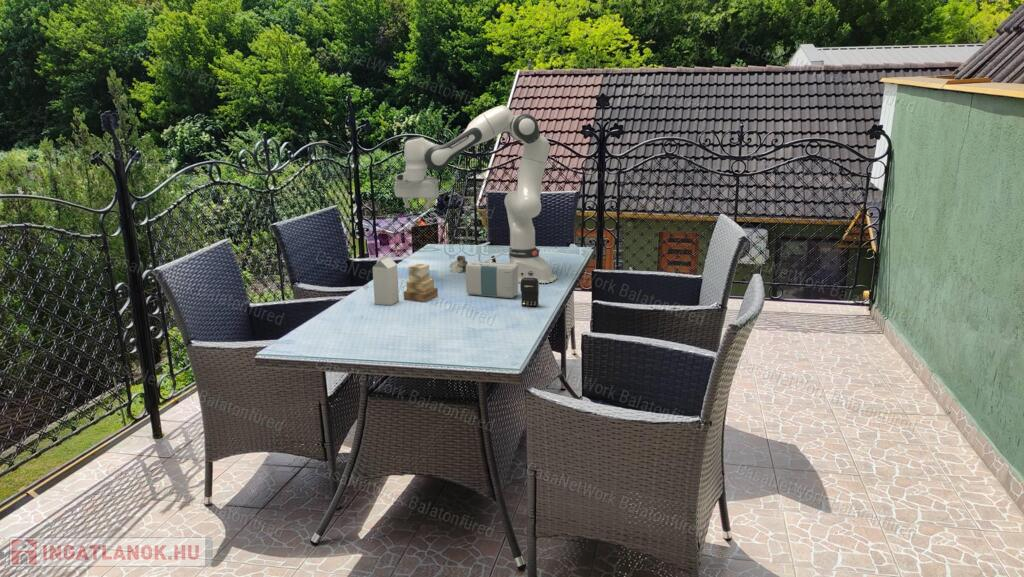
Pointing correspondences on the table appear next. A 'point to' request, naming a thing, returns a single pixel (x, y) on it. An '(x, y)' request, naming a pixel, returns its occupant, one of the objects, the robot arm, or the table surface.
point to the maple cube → (419, 272)
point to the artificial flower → (462, 264)
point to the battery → (530, 291)
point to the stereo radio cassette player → (492, 278)
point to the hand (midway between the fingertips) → (417, 208)
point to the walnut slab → (421, 295)
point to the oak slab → (420, 286)
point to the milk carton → (385, 281)
